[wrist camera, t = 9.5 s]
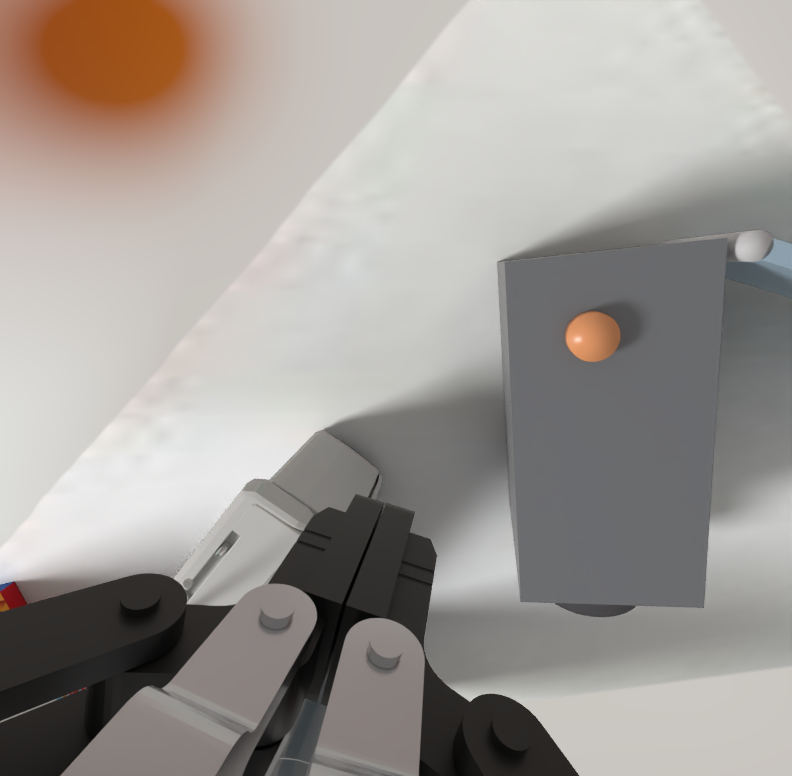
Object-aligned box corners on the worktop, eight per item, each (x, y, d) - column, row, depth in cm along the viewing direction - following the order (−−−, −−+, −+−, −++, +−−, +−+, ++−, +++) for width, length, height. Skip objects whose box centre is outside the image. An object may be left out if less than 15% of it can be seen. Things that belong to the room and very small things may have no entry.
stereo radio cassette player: (267, 609, 47) (123, 841, 28) (204, 558, 47) (16, 759, 28) (393, 471, 41) (315, 654, 22) (320, 411, 41) (178, 544, 22)
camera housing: (635, 535, 38) (708, 665, 26) (511, 535, 40) (524, 655, 28) (642, 246, 33) (739, 236, 20) (497, 261, 35) (505, 261, 22)
